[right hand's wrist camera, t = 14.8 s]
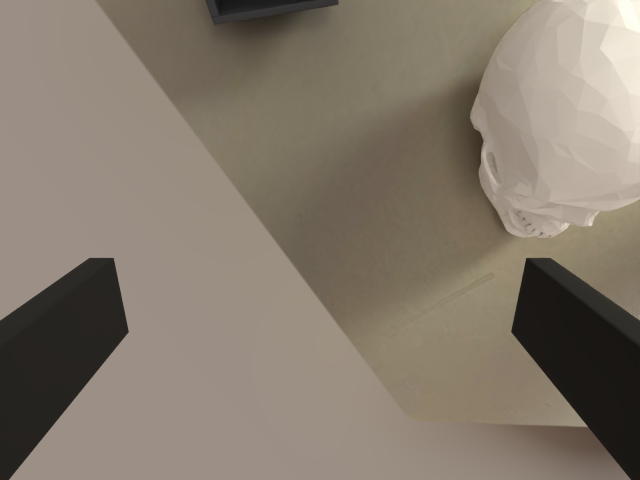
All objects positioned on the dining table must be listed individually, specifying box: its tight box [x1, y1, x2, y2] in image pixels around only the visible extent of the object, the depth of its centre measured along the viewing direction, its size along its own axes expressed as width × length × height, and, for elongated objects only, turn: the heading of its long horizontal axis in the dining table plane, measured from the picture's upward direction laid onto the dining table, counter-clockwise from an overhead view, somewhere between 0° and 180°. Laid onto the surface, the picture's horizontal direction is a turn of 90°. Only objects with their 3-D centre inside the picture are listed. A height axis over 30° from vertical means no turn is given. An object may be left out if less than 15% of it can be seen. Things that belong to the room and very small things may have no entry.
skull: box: [470, 0, 640, 238], centre depth 32 cm, size 13×22×16 cm, turn 12°
